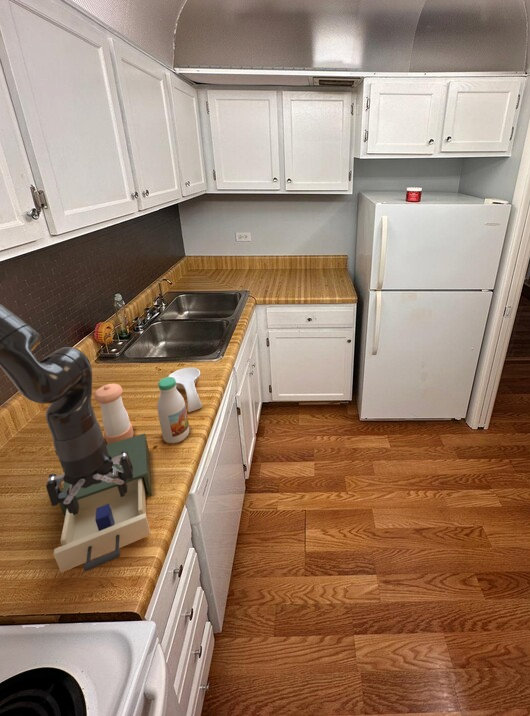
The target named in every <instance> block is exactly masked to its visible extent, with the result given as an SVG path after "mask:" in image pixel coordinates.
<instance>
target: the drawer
mask: <svg viewBox="0 0 530 716" xmlns="http://www.w3.org/2000/svg"><path fill="white" fill-rule="evenodd" d="M77 501H78V504H79V511H78V514H76V515H73V513H71V514H70V513H69V512H68V509H67V510H66V516H65V517H64V520H63V521H64V522H63V527H62V531H61V535H60V541H59V542H60V544H61V546H58V547H55V548H54V550H53V557H54V560H55V561H56V564H57V566H58V568H59V571H60V573H61V574H62V573H64V572H67V571H69V570H71V569H74V568H76V567H78V566H80V565H83V572H84V573H87V572H89V571H92V570H93V569H96V568H98V567H101V566H103V565H105V564H107V563H110V562H112V561H114V560H117V559H119V558H120V557H121V548H123V547H125V546H128V545H130V544H133V543H135V542H138V541H139V540H142V539H144V538H147V537H150V536H151V528H150V524H149V519H148V516H147V503H146V501H147V500H146V498H145V484H144V480H143V477H142V478H139V479H136V480H133V481H130V482H128V483H127V493H125V496H123V497H121V496H120V493H119V490H118V486H116V487H113V488H111V489H108V490H105V491H102V492H99V493H96V494H94V495H91V496H88V497H85V498H82V499H79V500H77ZM107 504H109V505H110V506H111V509H112V515H113V518H114V521H115V525H113V526H111V527H108V528H106V529H103V530H101V531H99V530H98V527H97V524H96V521H95V518H96V509H97V508H99V507H101V506H104V505H107Z"/></svg>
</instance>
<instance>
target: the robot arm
mask: <svg viewBox="0 0 530 716" xmlns="http://www.w3.org/2000/svg"><path fill="white" fill-rule="evenodd" d="M41 340H42V336H41V334H40V332H39V331H37V330H36V329H35V328H34V327H33V326H31V325H29V324H28V323H27V322H26V321H24V320H23V319H22V318H20V317H19V316H18V315H16V314H15V313H14V312H12V311H11V310H9V309H8V308H7V307H5V306H4V305H3V304H1V303H0V368H1V370H2V371H3V372H4V374H5V375H6V376H7V377H8V378H9V380H10V381H11V382H12V384H13V385H14V386H15V388H16V389H17V390H18V391H19V393H20V394H21V395H22V396H24V397H25V398H26V399H27V400H29V401H31V402H33V403H36V404H44V405H45V404H47V405H48V404H49V405H48V407H47V409H46V410H45V420H46V423H47V426H48V428H49V431H50V434H51V436H52V441H53V447H54V452H55V455H56V456H57V458H58V460H59V463H60V465H61V468H62V471H63V473H62V474H58V475H57V474H56V473H50V474H49V475H48V479H47V482H46V485H45V488H46V491H47V495H48V498H49V501H50V505H51V506H52V507H57V506H58V505H59V503H64V504H66V507H67V509H68V512H69V513H70V514H71V513H73V515H76V514H78V511H79V504H78V501H77V498H76V494H77V493H78V491H79V489H80V488H83V487H84V488H87V487H89V486H91V485H94V484H98V483H101V482H102V481H104V482H107V483H115V484H118V485H117V486H118V490H119V493H120V496H121V497H123V496H125V493H127V482H126V480H127V479H132V478H133V466H132V464H131V461H130V458H129V456H128V453H127V451H122V452H121V455H119V456H116V457H113V458H112V457H111V456H109V454H108V450H107V447H106V445H107V443H106V439H105V436H104V434H103V430H102V428H101V424H100V423H99V421H98V420H97V417H96V413H95V410H94V409H95V408H94V406H93V404H92V396H93V395H92V394H93V368H92V365H91V361H90V358H88V356H87V355H86V353H84V352H83V351H82V350H80V349H78V348H77V347H74V346H73V347H72V346H65V347H61V348H58V349H56V350H54V351H53V352H52V353H50V354H48V355H47V356H45V357H44V358H42V359H41V360H40V361H39V360H38V359H37V358H36V356H35V355H34V353H33V351H34V350H35V349H36V348H37V347H38V345H40V343H41V342H42V341H41ZM113 464H117V465H118V466H119V467H122V468H123V470H124V472H122V471H120V470H117V469H116V467H114V466H113ZM108 473H109V475H108ZM64 482H66V483H69V484H70V486H69V487H68V489H67V491H66V492H64V493H62V489H61V485H62V483H64Z"/></svg>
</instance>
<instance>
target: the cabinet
mask: <svg viewBox="0 0 530 716" xmlns="http://www.w3.org/2000/svg"><path fill="white" fill-rule="evenodd" d="M106 447H107V450H108V454H109V456H111V457H112V458H113V457H116V456H119V455H121V452H122V451H127V453H128V456H129V458H130V461H131V464H132V466H133V478H132V479H127V480H126V482H127V483H128V482H130V481H133V480H136V479H139V478H142V477H143V480H144V484H145V499H146V498H148V497H151V496H152V495H153V492H152V491H153V489H152V472H151V471H152V470H151V454H150V449H149V444H148V440H147V435H146V433H145V432H144V433H141V434H138V435H134V436H133V437H131V438H128V439H125V440H121V441H118V442H115V443H111V444H106ZM113 466H114V467H116V469H117V470H120V471H122V472H124V470H123V468H122V467H119V466H118V465H117V464H113ZM108 475H109V473H108ZM62 485H63V486H62V489H61V493H64V492H66V491H67V489H68V487H69V486H70V484H69V483H66V482H64V481H63V484H62ZM117 485H118V484H115V483H107V482H104V481H102V482H101V483H98V484H94V485H91V486H89V487H87V488H84V487H83V488H80V489H79V491H78V493H77V494H76V498H77V500H79V499H82V498H85V497H88V496H91V495H94V494H96V493H99V492H102V491H105V490H108V489H111V488H113V487H116V486H117ZM58 505H59V506H60V509H61V512H62V515H63V517H64V518H65V516H66V510H67V507H66V504H64V503H59V504H58Z"/></svg>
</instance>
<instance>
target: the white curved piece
mask: <svg viewBox="0 0 530 716" xmlns="http://www.w3.org/2000/svg"><path fill="white" fill-rule="evenodd" d="M200 376H201V371H200V369H199V368H196V367H192V366H191V367H189V366H188V367H184V368H180V369H177V370H175V371H173V372H171V373H170V374H169V375H168V376H167V377H173V378H174V379H175V381H176V389H180V390H184V391H185V394H186V403H187V413H192V412H195V411H198V410H201V409H202V408H203V404H202V401H201V399H200V396H199V394H198V391H197V388H196V383H197V382H198V380H199V379H200Z"/></svg>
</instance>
